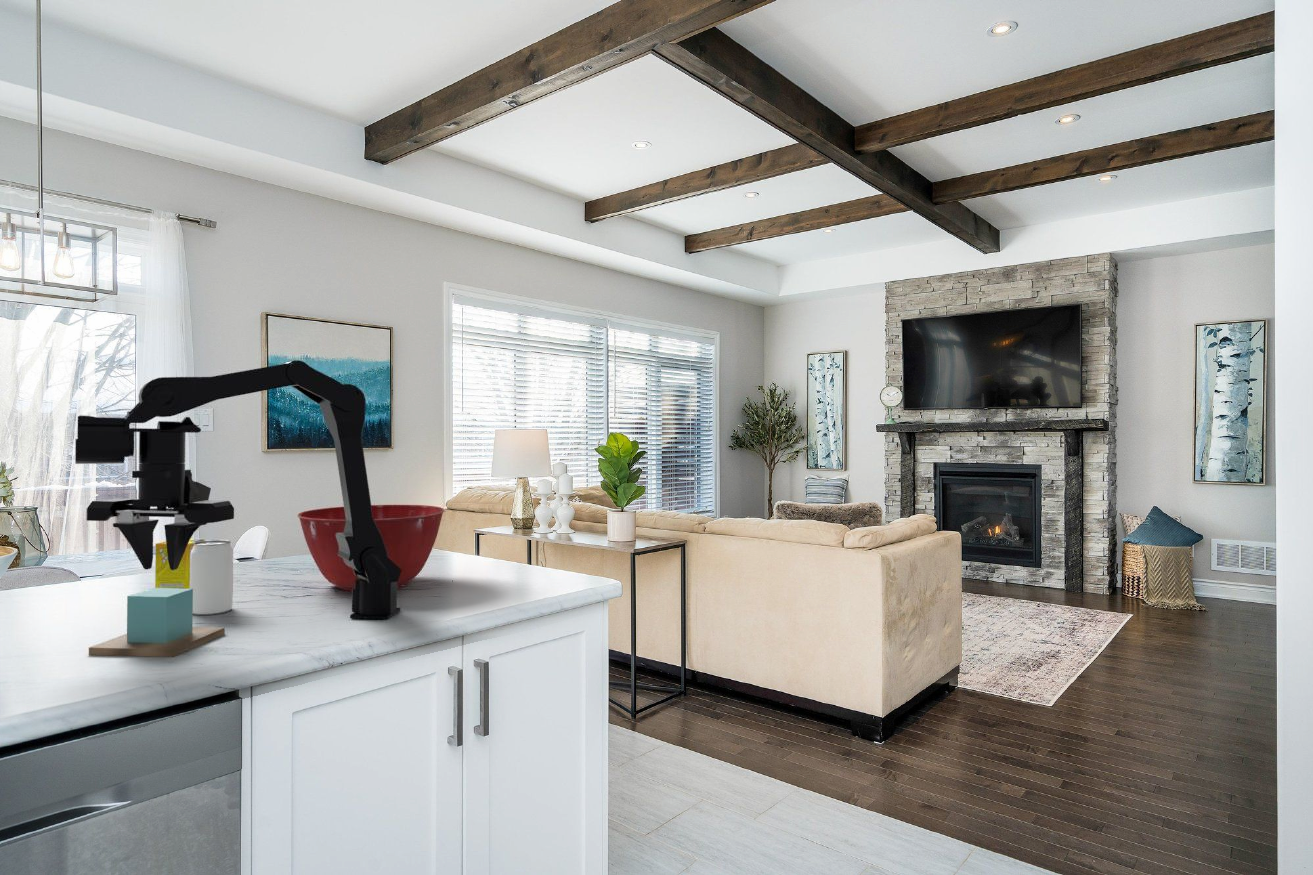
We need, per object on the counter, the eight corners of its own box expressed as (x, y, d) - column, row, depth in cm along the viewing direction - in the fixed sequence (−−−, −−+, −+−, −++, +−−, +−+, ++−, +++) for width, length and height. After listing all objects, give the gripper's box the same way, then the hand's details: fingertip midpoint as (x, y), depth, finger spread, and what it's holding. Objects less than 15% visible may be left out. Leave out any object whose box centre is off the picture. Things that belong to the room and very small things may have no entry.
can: (212, 616, 128) (213, 545, 128) (180, 614, 129) (181, 544, 129) (241, 608, 134) (242, 540, 134) (209, 605, 135) (210, 538, 135)
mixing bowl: (290, 604, 138) (291, 519, 138) (302, 576, 164) (302, 504, 164) (450, 594, 148) (451, 515, 148) (437, 569, 174) (438, 502, 174)
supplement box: (171, 596, 143) (172, 538, 143) (205, 596, 143) (205, 538, 143) (153, 603, 137) (154, 543, 137) (188, 603, 137) (189, 543, 137)
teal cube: (192, 632, 114) (192, 588, 114) (166, 642, 108) (166, 597, 108) (154, 631, 114) (155, 587, 114) (126, 641, 109) (127, 596, 109)
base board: (224, 634, 117) (224, 627, 117) (172, 656, 105) (172, 649, 105) (149, 632, 118) (149, 625, 118) (88, 654, 106) (88, 647, 106)
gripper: (255, 462, 119) (254, 561, 119) (139, 460, 120) (138, 558, 120) (211, 465, 108) (210, 574, 108) (83, 463, 109) (82, 571, 109)
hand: (160, 569), depth 111 cm, fingers open, 4 cm apart
